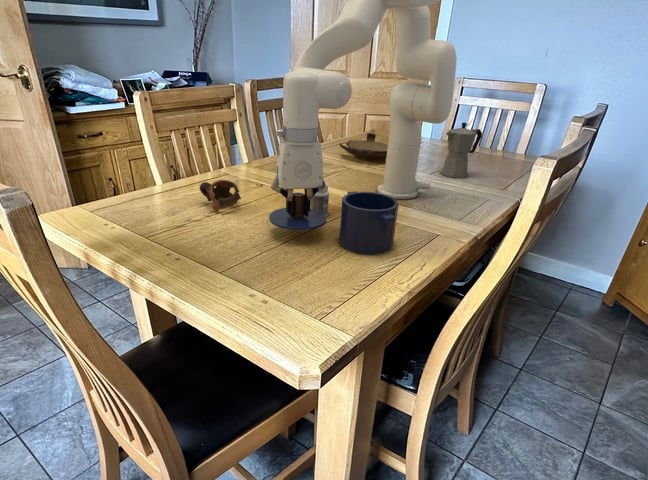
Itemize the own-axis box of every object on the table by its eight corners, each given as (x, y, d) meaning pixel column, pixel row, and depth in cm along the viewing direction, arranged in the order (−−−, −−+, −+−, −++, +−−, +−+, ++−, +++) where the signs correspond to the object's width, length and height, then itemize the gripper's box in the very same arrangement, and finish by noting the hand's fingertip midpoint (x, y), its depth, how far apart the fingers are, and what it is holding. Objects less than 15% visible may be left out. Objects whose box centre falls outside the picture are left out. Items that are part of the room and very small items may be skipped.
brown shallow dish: (328, 158, 171) (329, 138, 167) (362, 145, 193) (363, 127, 189) (380, 168, 161) (382, 147, 157) (409, 153, 184) (412, 134, 180)
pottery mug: (245, 202, 125) (246, 183, 118) (232, 226, 120) (231, 207, 113) (206, 188, 125) (205, 167, 118) (191, 211, 121) (188, 191, 114)
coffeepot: (447, 179, 153) (457, 125, 144) (431, 172, 161) (440, 120, 152) (481, 176, 159) (494, 124, 150) (464, 169, 166) (475, 119, 157)
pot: (370, 225, 114) (374, 186, 108) (409, 255, 100) (416, 211, 94) (326, 231, 109) (328, 190, 104) (360, 263, 95) (365, 218, 90)
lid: (313, 209, 113) (314, 183, 110) (335, 229, 103) (338, 201, 99) (261, 214, 108) (261, 187, 105) (280, 236, 98) (280, 206, 94)
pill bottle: (326, 218, 116) (327, 187, 112) (308, 216, 117) (309, 185, 113) (329, 212, 120) (331, 182, 116) (312, 210, 121) (313, 180, 117)
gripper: (267, 139, 90) (268, 223, 99) (341, 138, 95) (335, 218, 104) (259, 132, 96) (261, 211, 105) (329, 131, 101) (324, 207, 110)
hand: (298, 214), depth 105 cm, fingers closed on lid, 2 cm apart
